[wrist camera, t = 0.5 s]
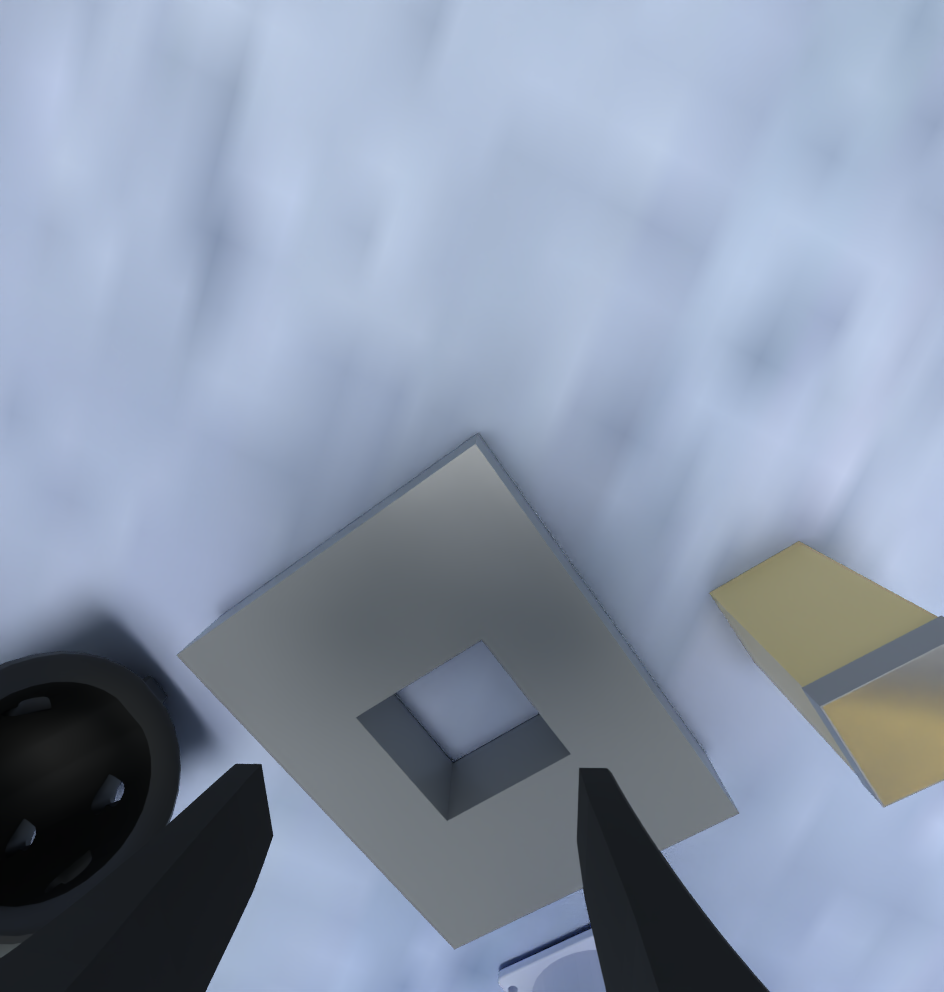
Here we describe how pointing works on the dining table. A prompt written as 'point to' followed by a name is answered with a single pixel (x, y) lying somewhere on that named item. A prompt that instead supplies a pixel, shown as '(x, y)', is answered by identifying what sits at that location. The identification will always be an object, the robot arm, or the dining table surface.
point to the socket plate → (425, 646)
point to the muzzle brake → (76, 780)
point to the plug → (848, 664)
